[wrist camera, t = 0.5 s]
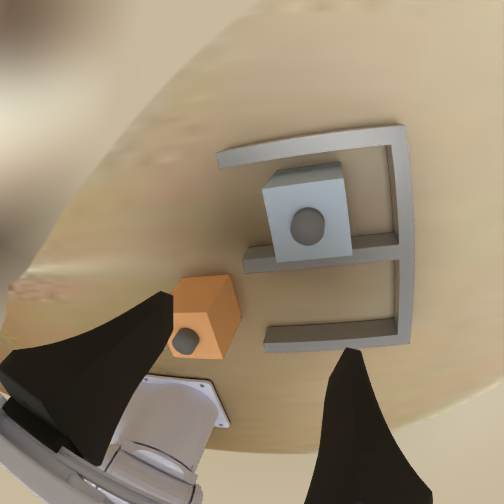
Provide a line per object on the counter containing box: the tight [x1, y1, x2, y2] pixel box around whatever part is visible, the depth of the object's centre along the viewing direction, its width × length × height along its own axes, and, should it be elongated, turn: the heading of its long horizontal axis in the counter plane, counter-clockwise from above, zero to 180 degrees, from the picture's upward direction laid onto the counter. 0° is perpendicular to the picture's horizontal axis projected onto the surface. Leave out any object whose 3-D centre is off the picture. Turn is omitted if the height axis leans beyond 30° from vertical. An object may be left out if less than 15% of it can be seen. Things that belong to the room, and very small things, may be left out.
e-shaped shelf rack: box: [216, 124, 415, 353], centre depth 20 cm, size 11×15×2 cm
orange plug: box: [167, 274, 242, 359], centre depth 23 cm, size 4×4×6 cm
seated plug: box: [262, 162, 352, 263], centre depth 17 cm, size 4×4×6 cm
